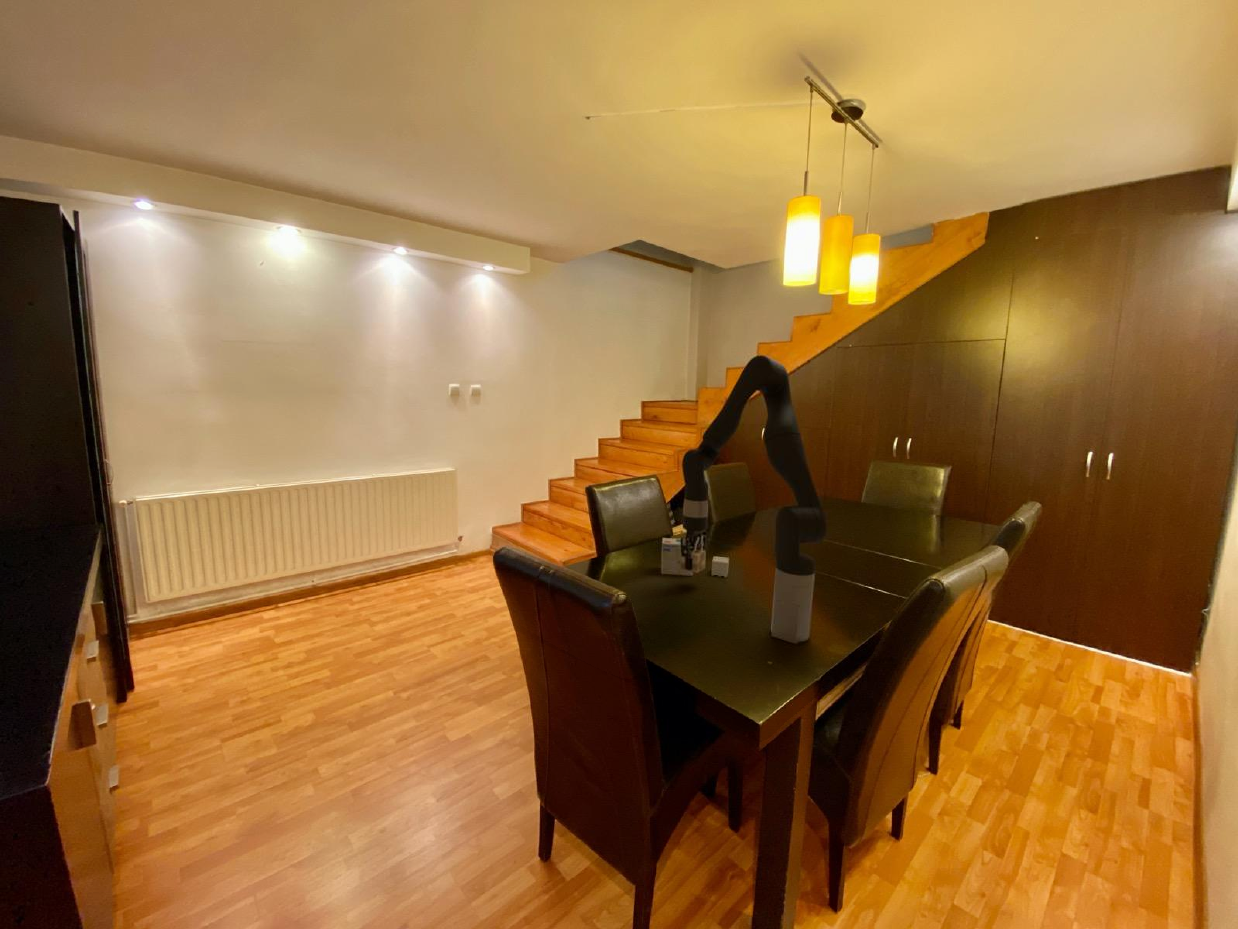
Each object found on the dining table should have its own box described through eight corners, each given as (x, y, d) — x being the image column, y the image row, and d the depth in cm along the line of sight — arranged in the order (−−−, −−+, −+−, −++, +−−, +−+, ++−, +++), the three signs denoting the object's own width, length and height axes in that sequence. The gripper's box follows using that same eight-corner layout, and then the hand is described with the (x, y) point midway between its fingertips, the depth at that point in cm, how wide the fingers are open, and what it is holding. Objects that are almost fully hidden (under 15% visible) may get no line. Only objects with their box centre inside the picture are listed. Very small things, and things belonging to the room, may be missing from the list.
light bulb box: (692, 569, 170) (693, 538, 168) (693, 576, 163) (694, 544, 162) (660, 567, 171) (662, 537, 169) (660, 574, 164) (661, 543, 163)
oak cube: (696, 573, 150) (697, 555, 150) (680, 569, 153) (681, 552, 153) (704, 568, 155) (705, 551, 154) (689, 564, 158) (689, 547, 157)
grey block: (726, 577, 164) (727, 563, 163) (711, 575, 165) (712, 561, 164) (727, 572, 168) (728, 558, 167) (713, 570, 170) (713, 556, 169)
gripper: (695, 520, 144) (693, 576, 146) (716, 511, 155) (714, 563, 158) (673, 516, 148) (671, 570, 150) (695, 508, 160) (692, 558, 162)
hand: (693, 566), depth 154 cm, fingers closed on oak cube, 5 cm apart
